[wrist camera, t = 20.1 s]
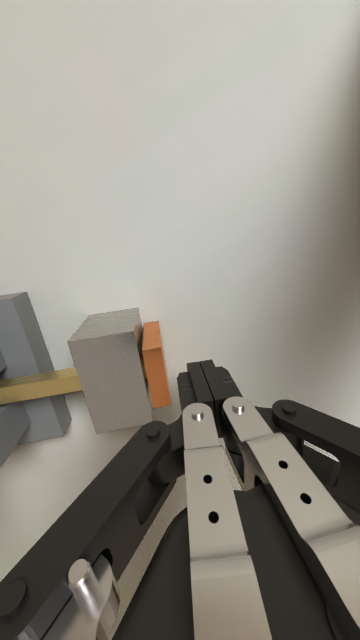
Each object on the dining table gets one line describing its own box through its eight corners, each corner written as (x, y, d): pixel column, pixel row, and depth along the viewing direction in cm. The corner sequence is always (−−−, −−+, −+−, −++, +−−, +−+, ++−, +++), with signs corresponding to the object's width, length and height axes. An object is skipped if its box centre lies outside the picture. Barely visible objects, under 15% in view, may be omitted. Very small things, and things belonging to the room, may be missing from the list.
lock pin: (158, 321, 19) (161, 347, 14) (166, 367, 20) (171, 405, 16) (3, 345, 18) (-48, 381, 13) (23, 392, 19) (-18, 440, 15)
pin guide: (89, 315, 18) (67, 341, 13) (138, 307, 19) (134, 331, 14) (109, 388, 21) (96, 433, 16) (152, 380, 21) (152, 422, 16)
